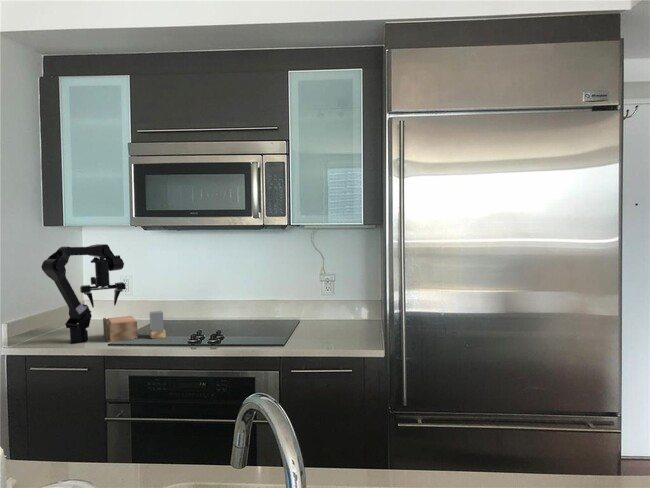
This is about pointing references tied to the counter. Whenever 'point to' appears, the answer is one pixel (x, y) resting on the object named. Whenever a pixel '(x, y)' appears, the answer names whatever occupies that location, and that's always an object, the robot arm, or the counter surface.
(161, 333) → the oak plinth
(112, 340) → the walnut frame
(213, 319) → the counter surface
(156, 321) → the granite block
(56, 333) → the counter surface
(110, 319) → the terracotta flap
